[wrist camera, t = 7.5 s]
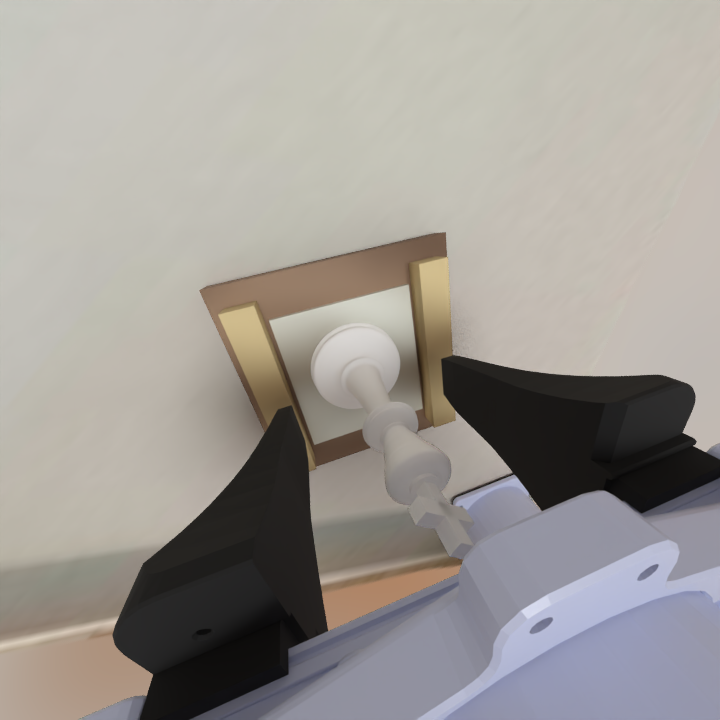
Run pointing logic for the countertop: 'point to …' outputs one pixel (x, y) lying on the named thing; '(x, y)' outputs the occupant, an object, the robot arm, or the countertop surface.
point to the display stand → (327, 312)
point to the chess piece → (390, 427)
